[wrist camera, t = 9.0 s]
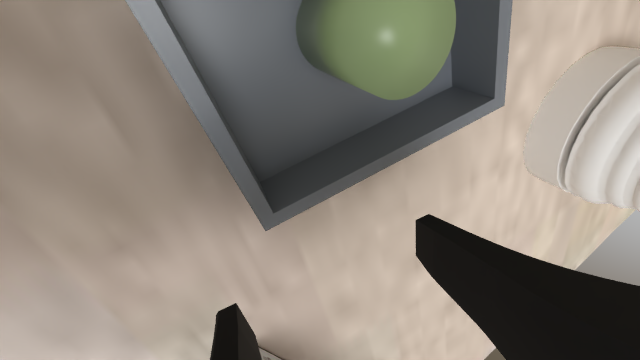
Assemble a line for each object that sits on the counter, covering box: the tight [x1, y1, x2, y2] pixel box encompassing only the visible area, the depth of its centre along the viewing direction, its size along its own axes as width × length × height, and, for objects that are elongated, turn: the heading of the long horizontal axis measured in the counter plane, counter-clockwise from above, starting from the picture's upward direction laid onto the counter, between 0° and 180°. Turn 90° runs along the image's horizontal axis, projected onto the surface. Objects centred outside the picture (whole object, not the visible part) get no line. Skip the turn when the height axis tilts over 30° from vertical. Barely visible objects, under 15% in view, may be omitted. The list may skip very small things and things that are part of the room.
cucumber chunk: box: [296, 0, 456, 100], centre depth 13 cm, size 4×4×6 cm
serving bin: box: [125, 0, 512, 231], centre depth 14 cm, size 16×14×4 cm
